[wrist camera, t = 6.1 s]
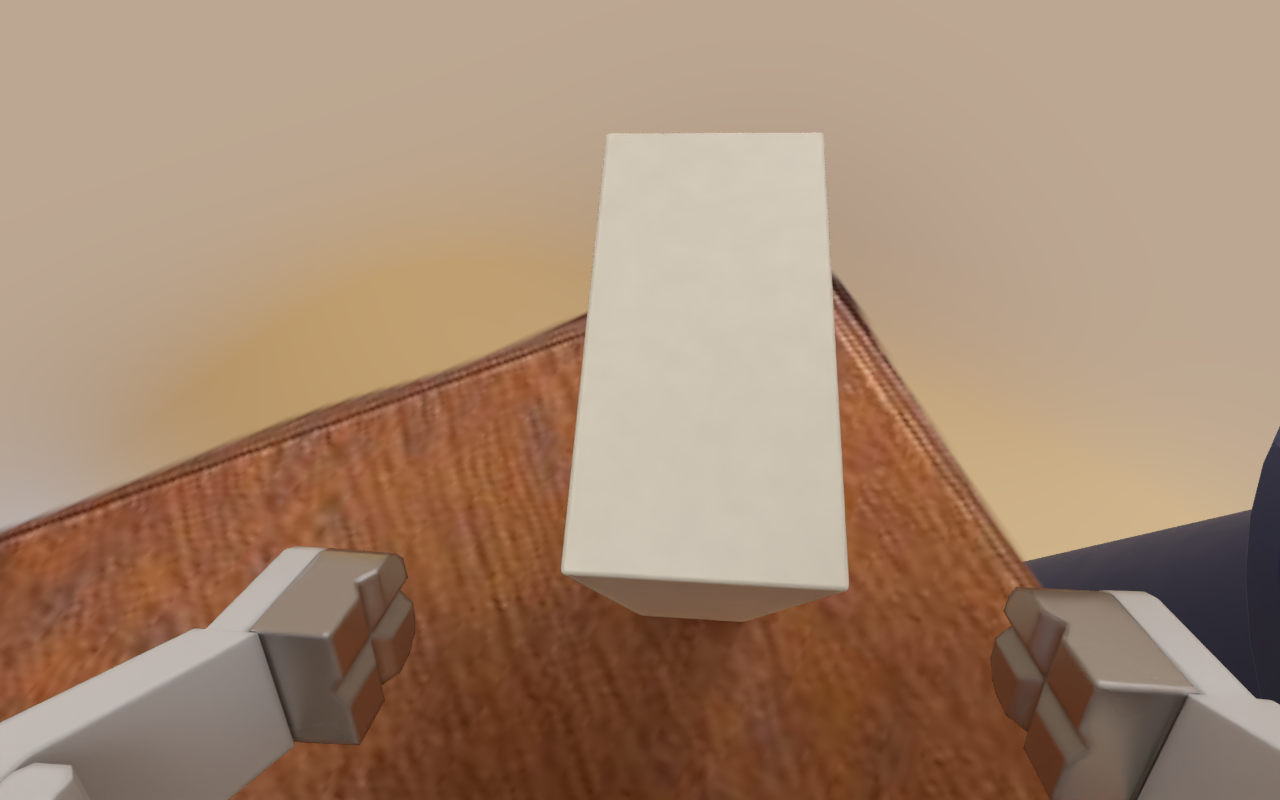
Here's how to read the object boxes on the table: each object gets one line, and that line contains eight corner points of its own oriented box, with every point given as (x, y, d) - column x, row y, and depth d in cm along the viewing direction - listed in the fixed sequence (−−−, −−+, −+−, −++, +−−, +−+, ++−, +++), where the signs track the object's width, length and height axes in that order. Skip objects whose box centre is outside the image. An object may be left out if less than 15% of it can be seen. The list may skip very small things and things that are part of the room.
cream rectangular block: (744, 421, 20) (825, 129, 8) (744, 622, 17) (850, 591, 6) (650, 417, 20) (605, 131, 9) (638, 615, 18) (558, 574, 7)
